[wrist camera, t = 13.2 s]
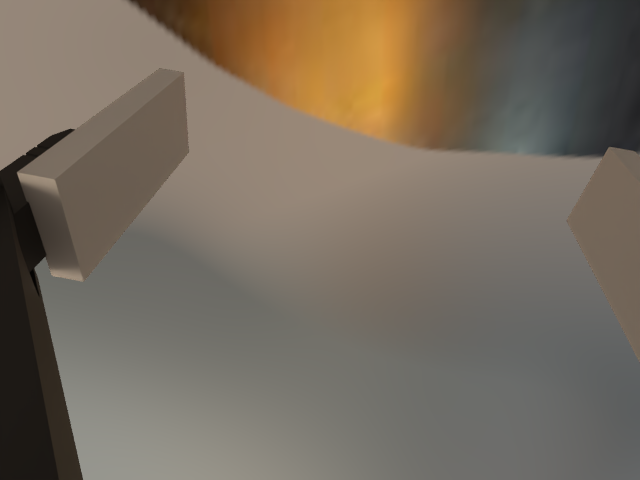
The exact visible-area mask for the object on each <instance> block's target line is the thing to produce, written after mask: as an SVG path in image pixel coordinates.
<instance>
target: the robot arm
mask: <svg viewBox="0 0 640 480" xmlns="http://www.w3.org/2000/svg"><path fill="white" fill-rule="evenodd" d="M188 153H189V146H188V131H187V116H186V99H185V86H184V73H183V72H179V71H173V70H167V69H161V68H159V69H158V70H157V71H155V72H154V73H152V74H151V75H150V76H148V77H147V78H146V79H144V80H143V81H142V82H140V83H139V84H138V85H136V86H135V87H133V88H132V89H130V90H129V91H128V92H126V93H125V94H124V95H122V96H121V97H120V98H118V99H117V100H115V101H114V102H113V103H111V104H110V105H109V106H107V107H106V108H104V109H103V110H102V111H100V112H99V113H98V114H96V115H95V116H93V117H92V118H91V119H89V120H88V121H87V122H85V123H84V124H82V125H81V126H80V127H79V128H77V129H76V130H74V129H68V130H66V131H63V132H60V133H57V134H54V135H52V136H50V137H48V138H47V139H45V140H44V141H43V142H41V143H40V144H38V145H37V147H34V148H33V149H31V150H30V151H28V152H27V153H26V155H23V156H21V157H20V158H18V159H17V160H15V161H14V162H13V163H11V164H10V165H8V166H7V167H5V168H4V169H2V170H1V171H0V480H83V478H82V473H81V469H80V464H79V459H78V455H77V450H76V446H75V442H74V437H73V433H72V429H71V424H70V419H69V415H68V410H67V406H66V401H65V397H64V392H63V388H62V384H61V379H60V375H59V370H58V366H57V361H56V357H55V352H54V348H53V344H52V339H51V334H50V330H49V325H48V321H47V316H46V312H45V308H44V303H43V299H42V294H41V290H40V285H39V281H38V277H37V274H36V272H35V269H34V268H35V266H36V265H37V264H38V263H39V262H40V261H41V260H42V259H43V258H44V257H46V260H47V262H48V266H49V269H50V272H51V274H52V276H57V277H62V278H67V279H73V280H78V281H83V282H84V281H85V280H86V278H87V277H88V276H89V275H90V273H91V272H92V271H93V270H94V269H95V267H96V266H97V265H98V264H99V262H100V261H101V260H102V259H103V257H104V256H105V255H106V254H107V253H108V251H109V250H110V249H111V248H112V246H113V245H114V244H115V243H116V241H117V240H118V239H119V238H120V236H121V235H122V234H123V233H124V232H125V230H126V229H127V228H128V227H129V225H130V224H131V223H132V222H133V220H134V219H135V218H136V217H137V216H138V214H139V213H140V212H141V211H142V209H143V208H144V207H145V206H146V204H147V203H148V202H149V201H150V199H151V198H152V197H153V196H154V195H155V193H156V192H157V191H158V190H159V188H160V187H161V186H162V185H163V183H164V182H165V181H166V180H167V179H168V177H169V176H170V175H171V174H172V172H173V171H174V170H175V169H176V168H177V166H178V165H179V164H180V163H181V161H182V160H183V159H184V158H185V156H186V155H187V154H188ZM567 222H568V224H569V226H570V228H571V230H572V232H573V234H574V236H575V238H576V239H577V242H578V244H579V246H580V248H581V249H582V251H583V253H584V255H585V257H586V259H587V261H588V263H589V265H590V267H591V269H592V271H593V273H594V275H595V277H596V279H597V281H598V282H599V284H600V286H601V288H602V290H603V292H604V294H605V296H606V298H607V300H608V302H609V304H610V306H611V307H612V310H613V312H614V313H615V315H616V317H617V319H618V321H619V323H620V325H621V327H622V329H623V331H624V333H625V335H626V337H627V339H628V341H629V343H630V344H631V347H632V348H633V350H634V352H635V354H636V356H637V358H638V360H639V362H640V156H639V155H638V154H637V153H636V152H635V151H630V150H624V149H619V148H613V147H609V148H608V150H607V151H606V153H605V155H604V157H603V158H602V160H601V162H600V164H599V165H598V167H597V169H596V170H595V172H594V174H593V176H592V177H591V179H590V181H589V183H588V184H587V186H586V188H585V189H584V191H583V193H582V195H581V196H580V198H579V200H578V202H577V203H576V205H575V207H574V208H573V210H572V212H571V214H570V215H569V217H568V219H567Z"/></svg>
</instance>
